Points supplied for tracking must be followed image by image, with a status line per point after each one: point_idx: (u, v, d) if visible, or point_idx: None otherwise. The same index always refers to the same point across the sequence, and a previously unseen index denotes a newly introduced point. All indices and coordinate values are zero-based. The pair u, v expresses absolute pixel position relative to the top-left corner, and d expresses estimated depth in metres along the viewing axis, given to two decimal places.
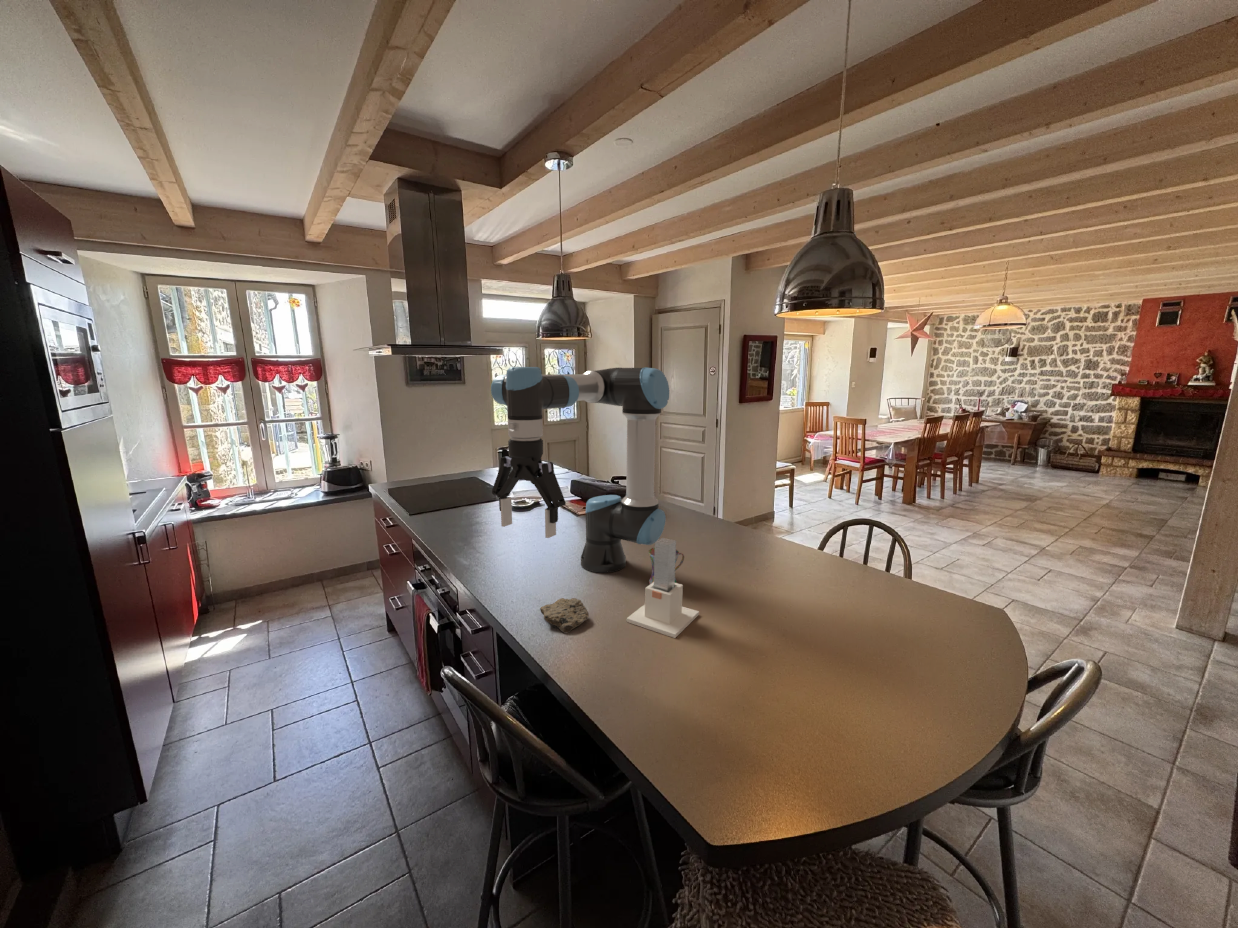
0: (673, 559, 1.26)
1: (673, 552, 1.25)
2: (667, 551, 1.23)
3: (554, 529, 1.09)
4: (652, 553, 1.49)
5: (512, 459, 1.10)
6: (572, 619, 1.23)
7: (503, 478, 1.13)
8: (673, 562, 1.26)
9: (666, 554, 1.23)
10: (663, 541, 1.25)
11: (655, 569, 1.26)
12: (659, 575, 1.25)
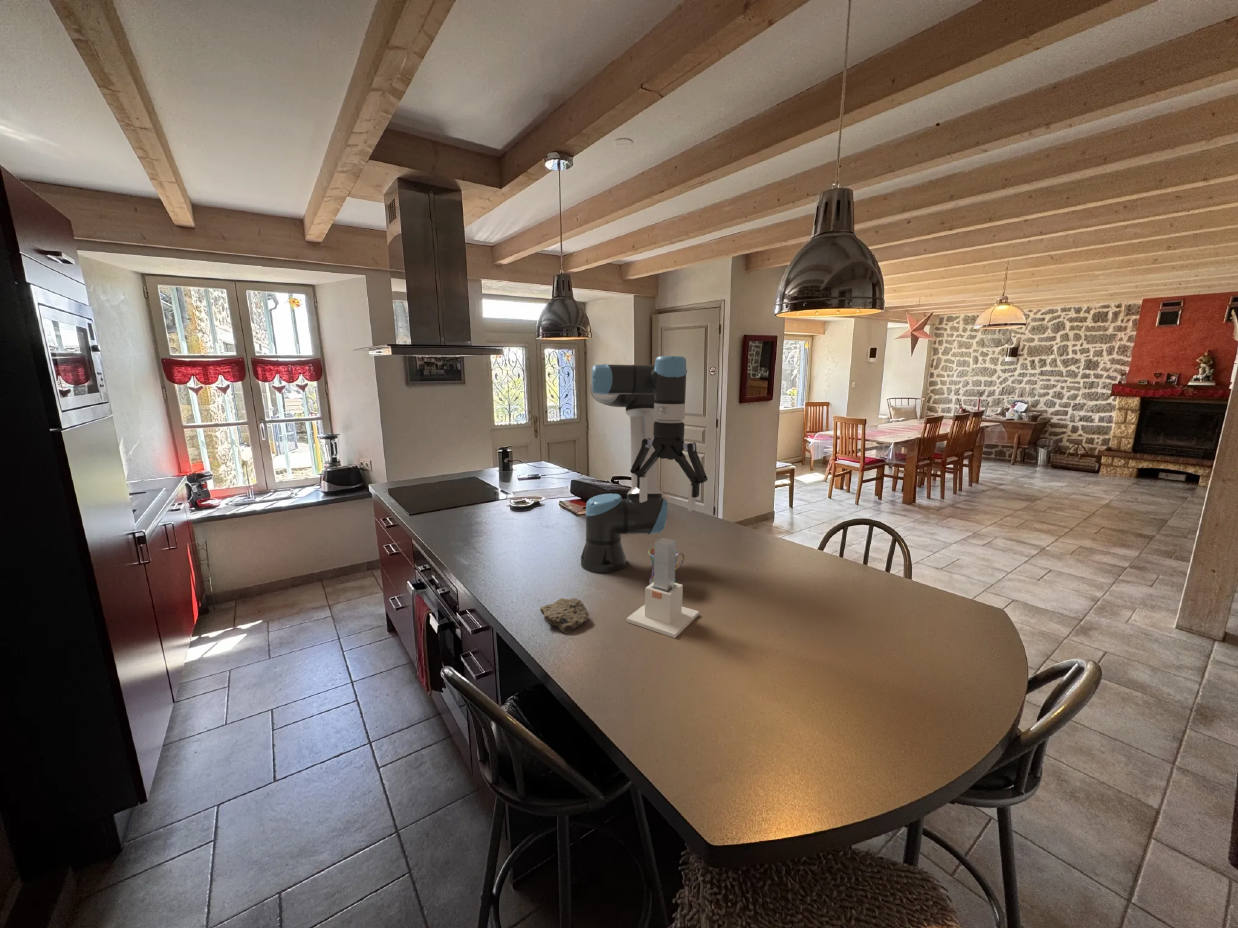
0: (673, 559, 1.26)
1: (673, 552, 1.25)
2: (667, 551, 1.23)
3: (694, 503, 1.20)
4: (652, 553, 1.49)
5: (655, 440, 1.21)
6: (572, 619, 1.23)
7: (642, 458, 1.25)
8: (673, 562, 1.26)
9: (666, 554, 1.23)
10: (663, 541, 1.25)
11: (655, 569, 1.26)
12: (659, 575, 1.25)
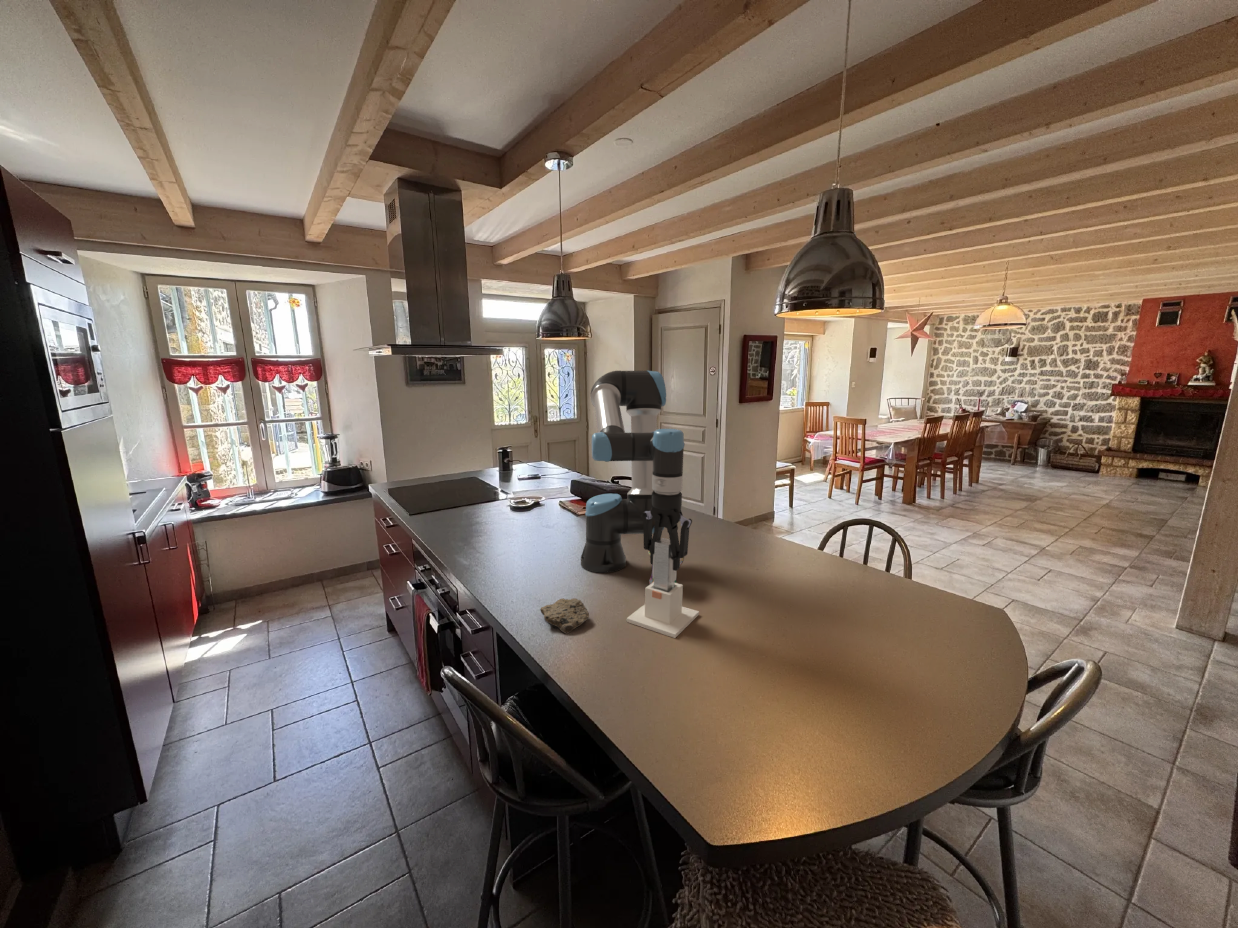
0: None
1: None
2: (667, 551, 1.23)
3: (675, 575, 1.26)
4: None
5: (652, 509, 1.25)
6: (572, 619, 1.23)
7: (649, 531, 1.27)
8: None
9: (666, 554, 1.23)
10: (663, 541, 1.25)
11: (655, 569, 1.26)
12: (659, 575, 1.25)
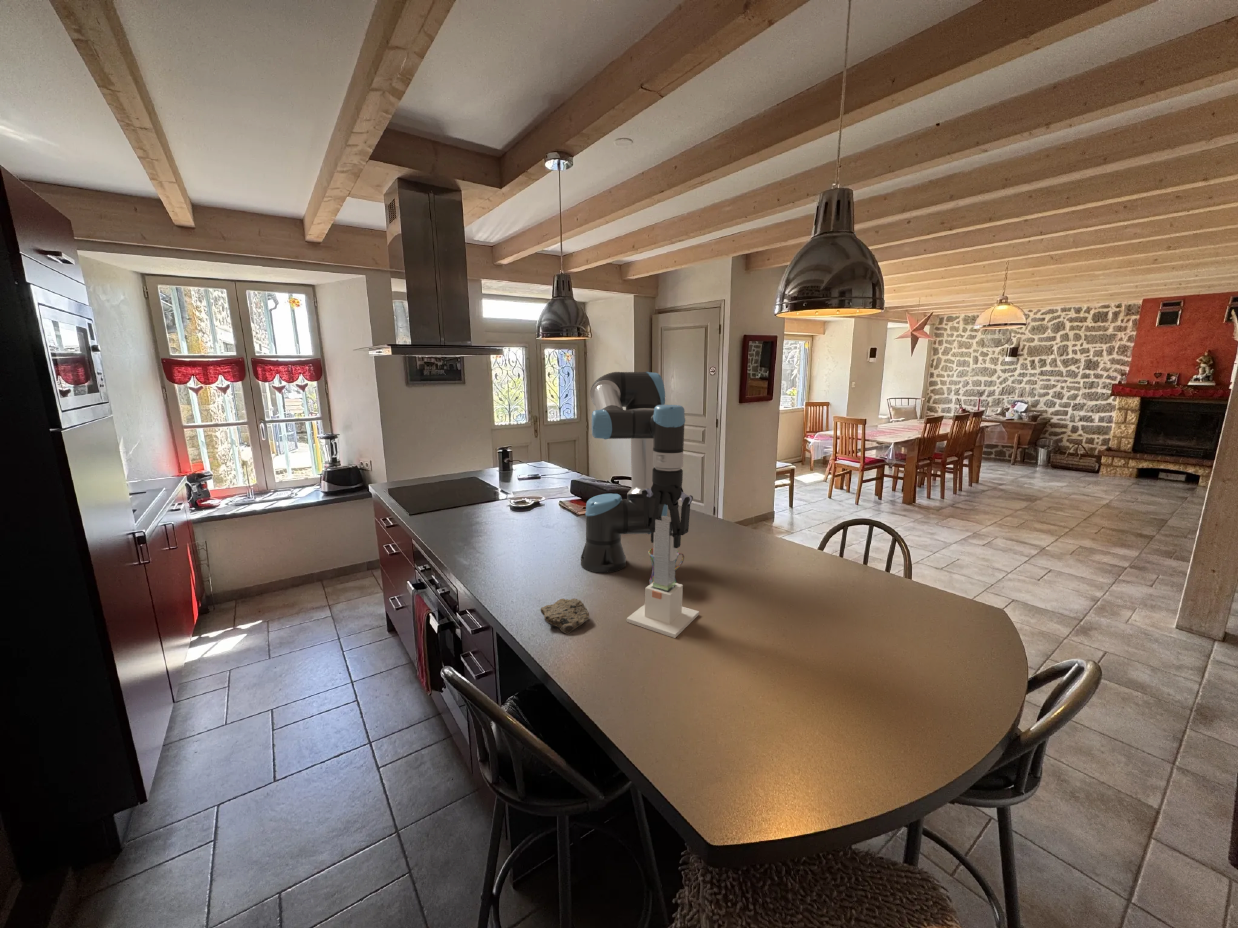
0: None
1: None
2: (668, 528, 1.22)
3: (676, 553, 1.25)
4: (652, 553, 1.49)
5: (652, 486, 1.24)
6: (573, 619, 1.23)
7: (649, 509, 1.26)
8: None
9: (667, 532, 1.22)
10: (664, 518, 1.24)
11: (656, 547, 1.25)
12: (660, 553, 1.24)
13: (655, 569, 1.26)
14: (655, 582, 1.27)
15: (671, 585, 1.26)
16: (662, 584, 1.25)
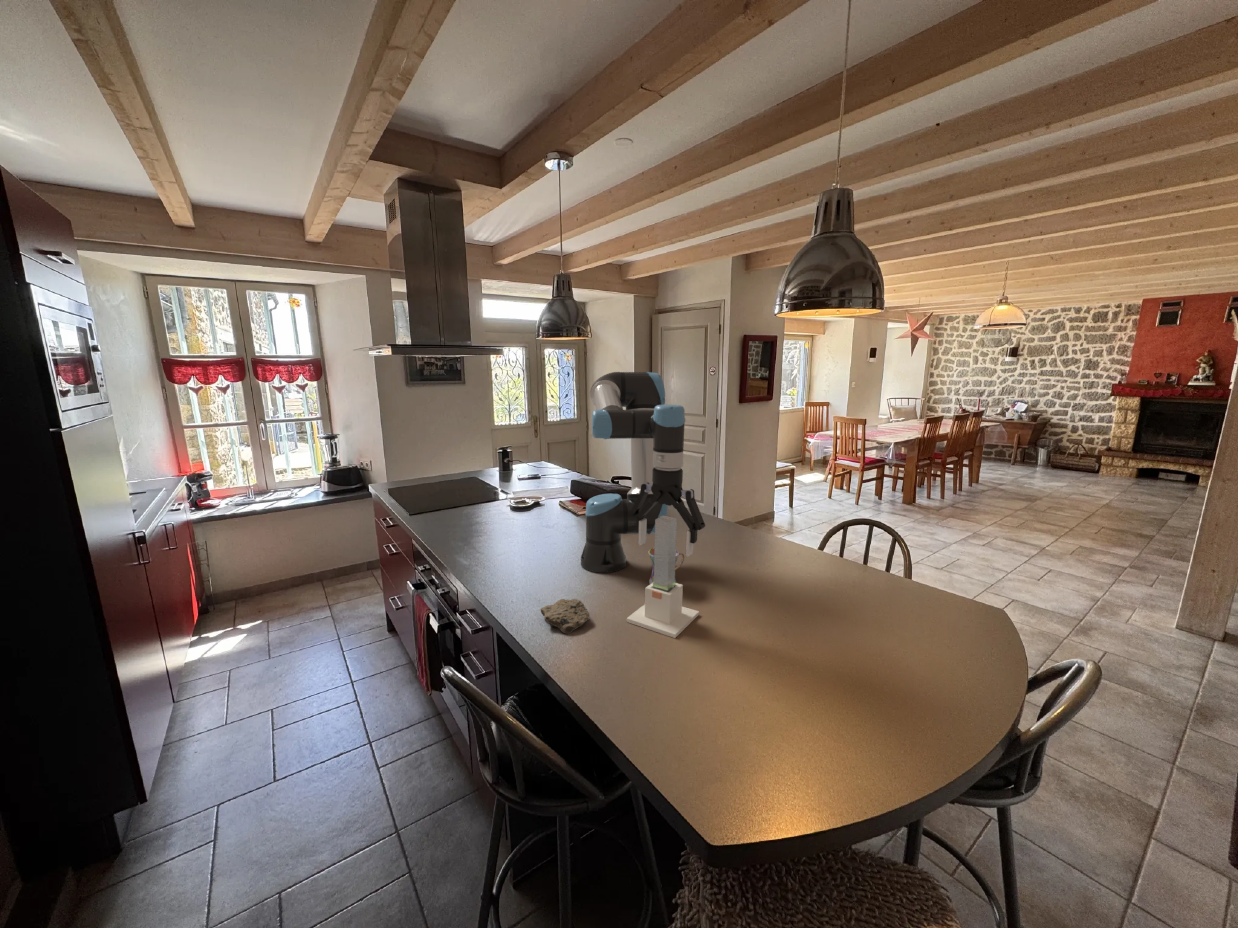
0: (673, 536, 1.24)
1: (673, 530, 1.24)
2: (668, 528, 1.22)
3: (692, 548, 1.22)
4: (652, 553, 1.49)
5: (653, 486, 1.23)
6: (573, 620, 1.23)
7: (641, 502, 1.27)
8: (674, 540, 1.25)
9: (667, 532, 1.22)
10: (664, 518, 1.24)
11: (656, 547, 1.25)
12: (660, 553, 1.24)
13: (655, 569, 1.26)
14: (655, 582, 1.27)
15: (671, 585, 1.26)
16: (662, 584, 1.25)
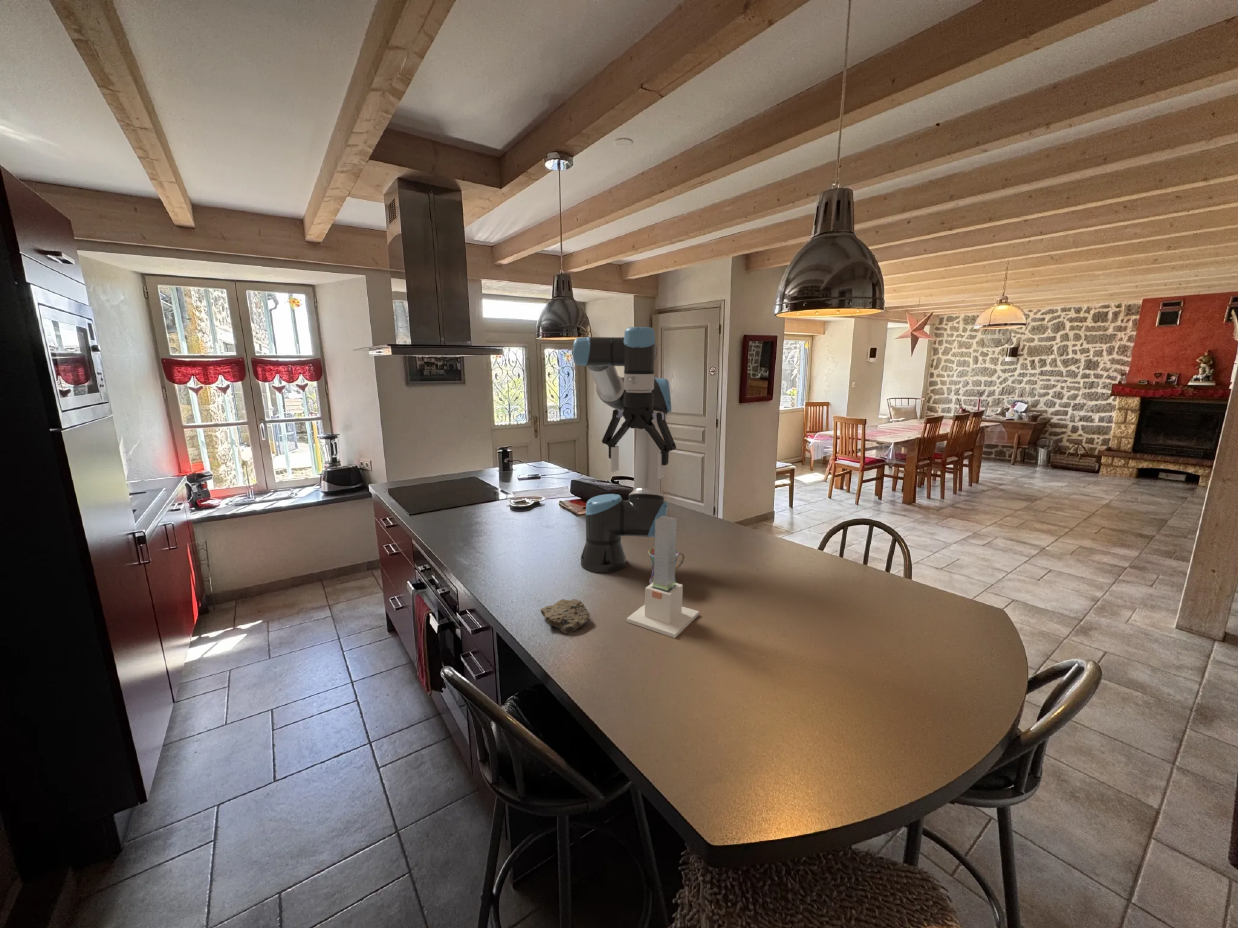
0: (673, 536, 1.24)
1: (673, 530, 1.24)
2: (668, 528, 1.22)
3: (664, 471, 1.24)
4: (652, 553, 1.49)
5: (625, 410, 1.24)
6: (573, 620, 1.23)
7: (613, 428, 1.28)
8: (674, 540, 1.25)
9: (667, 532, 1.22)
10: (664, 518, 1.24)
11: (656, 547, 1.25)
12: (660, 553, 1.24)
13: (655, 569, 1.26)
14: (655, 582, 1.27)
15: (671, 585, 1.26)
16: (662, 584, 1.25)
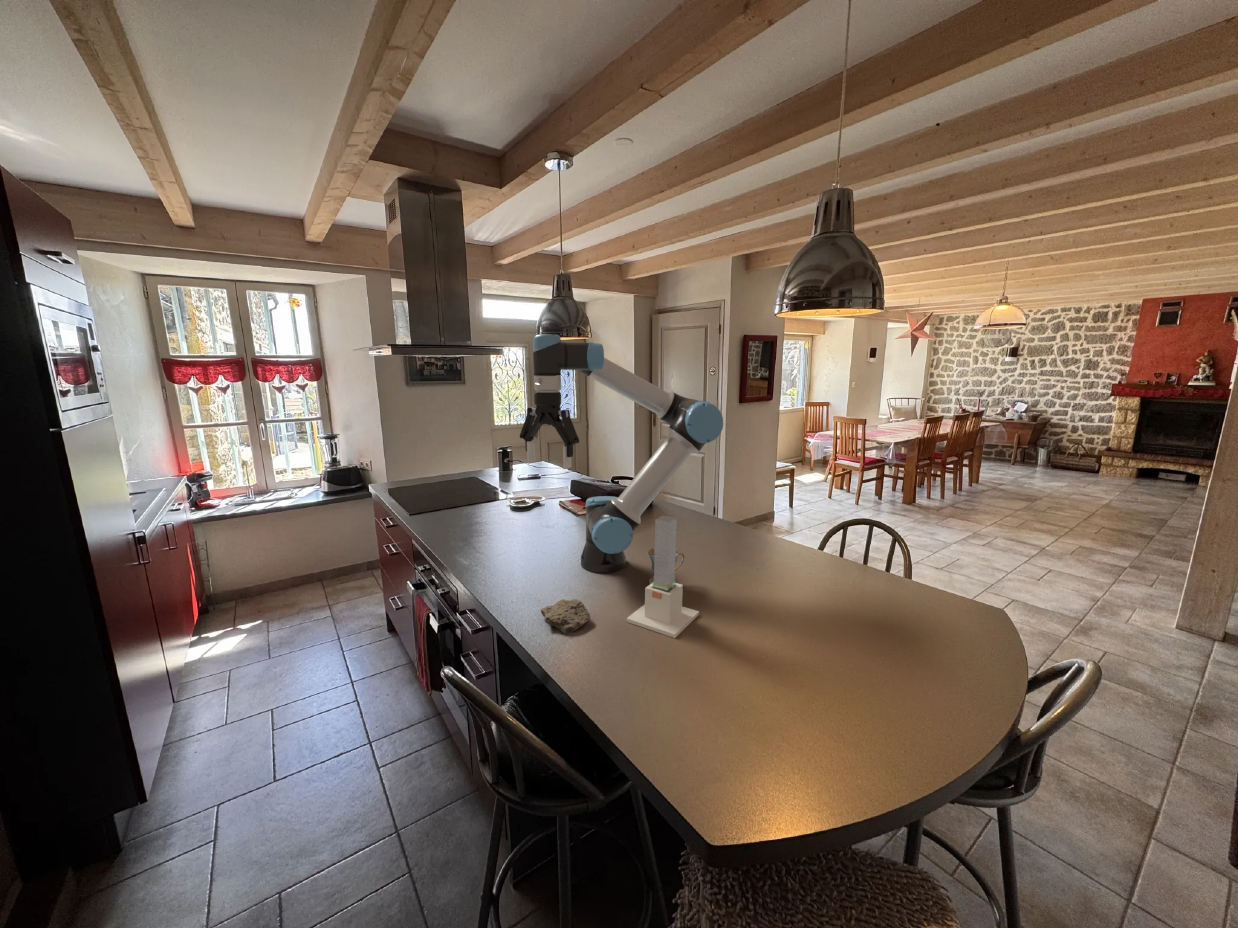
0: (673, 536, 1.24)
1: (673, 530, 1.24)
2: (668, 528, 1.22)
3: (570, 463, 1.38)
4: (652, 553, 1.49)
5: (537, 408, 1.39)
6: (573, 620, 1.23)
7: (529, 425, 1.43)
8: (674, 540, 1.25)
9: (667, 532, 1.22)
10: (664, 518, 1.24)
11: (656, 547, 1.25)
12: (660, 553, 1.24)
13: (655, 569, 1.26)
14: (655, 582, 1.27)
15: (671, 585, 1.26)
16: (662, 584, 1.25)
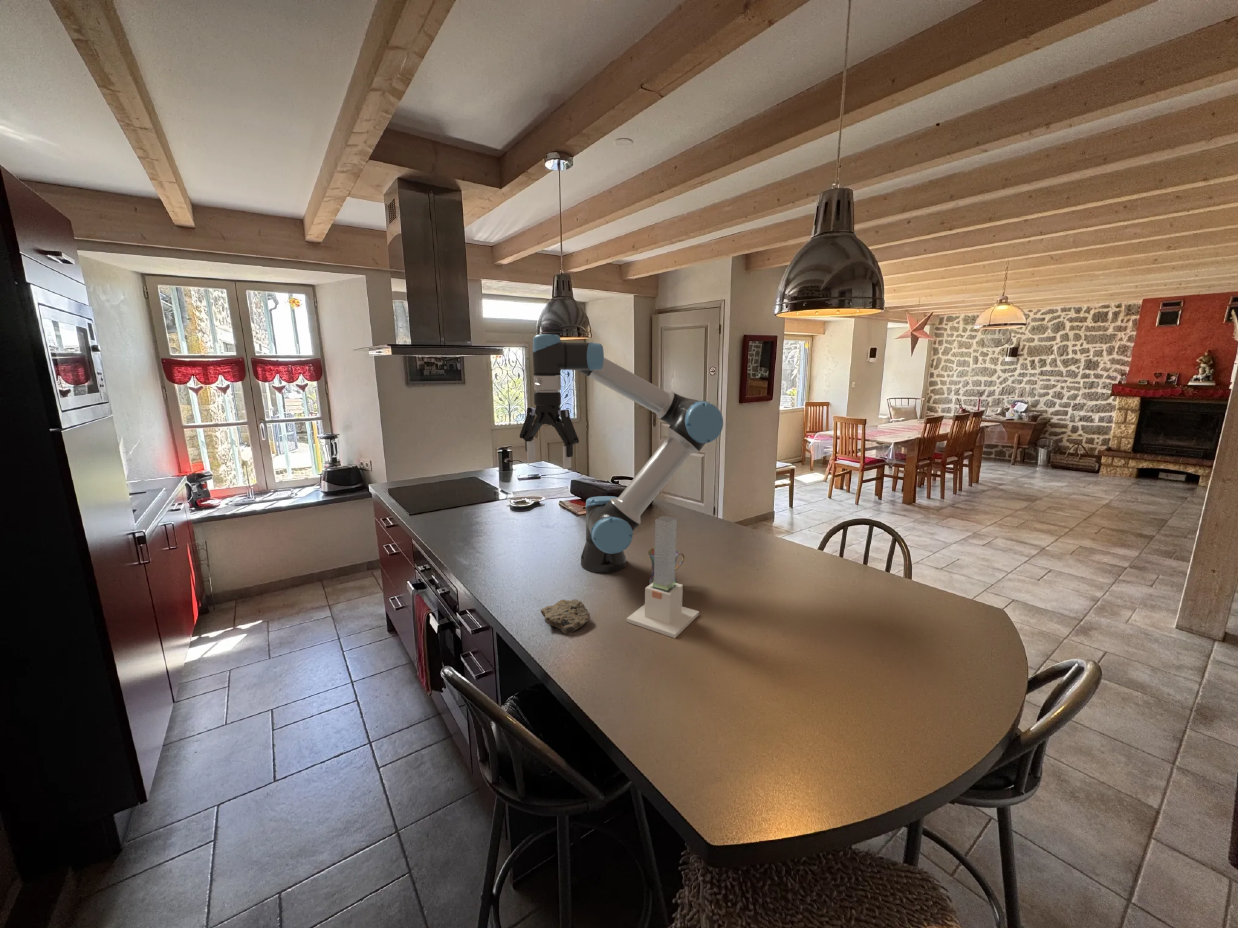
0: (673, 536, 1.24)
1: (673, 530, 1.24)
2: (668, 528, 1.22)
3: (569, 463, 1.38)
4: (652, 553, 1.49)
5: (536, 408, 1.40)
6: (574, 621, 1.22)
7: (529, 425, 1.43)
8: (674, 540, 1.25)
9: (667, 532, 1.22)
10: (664, 518, 1.24)
11: (656, 547, 1.25)
12: (660, 553, 1.24)
13: (655, 569, 1.26)
14: (655, 582, 1.27)
15: (671, 585, 1.26)
16: (662, 584, 1.25)
